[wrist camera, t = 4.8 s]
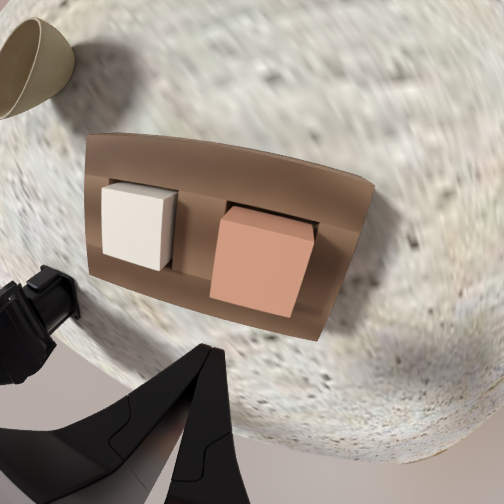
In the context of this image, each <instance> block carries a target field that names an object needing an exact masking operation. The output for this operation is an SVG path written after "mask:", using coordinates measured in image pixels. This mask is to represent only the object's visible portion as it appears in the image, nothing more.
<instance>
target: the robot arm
mask: <svg viewBox="0 0 504 504" xmlns="http://www.w3.org/2000/svg"><path fill="white" fill-rule="evenodd" d="M40 269H41V271H40V272H39V273H37V274H36V275H35V276H33V277H32V278H30V279H29V280H28V281H27V282H26V283H27V285H25V286H24V287H23V288H22V285H21V283H19V284H18V285H17V284H16V283H15V282H14V281H11V282H10V283H8V284H7V285H5V286H4V287H3V288H2V289H0V385H6V384H13V383H14V384H21V383H23V382H24V381H25V379H26V378H27V377H28V376H31V375H33V374H35V373H36V372H37V371H39V370H40V369H41V367H42V366H43V365H44V363H45V362H46V360H47V359H48V357H49V356H50V354H51V352H52V351H53V350H54V348H55V347H56V345H57V344H56V343H55V342H54V341H53V340H52V338H51V337H50V335H51V334H52V333H53V332H54V331H55V330H56V329H57V328H58V327H59V326H60V325H61V324H62V323H64V322H65V321H66V320H67V319H68V318H69V317H72V318H74V319H76V320H79V319H80V318H81V317H80V313H79V308H78V303H77V298H76V293H75V288H74V282H73V280H72V278H71V277H69V276H67V275H64V274H62V273H60V272H58V271H56V270H54V269H51V268H49V267H47V266H45V265H42V266H41V267H40ZM9 298H10V299H11V300H9ZM183 429H184V432H183V436H182V440H181V444H180V447H179V451H178V455H177V459H176V463H175V467H174V471H173V475H172V479H171V481H172V482H171V483H170V487H169V490H168V493H167V497H166V499H165V502H164V504H250V502H249V498H248V495H247V492H246V489H245V486H244V483H243V480H242V477H241V474H240V470H239V466H238V462H237V459H236V453H235V447H234V440H233V433H232V424H231V414H230V405H229V394H228V384H227V373H226V361H225V351H224V350H223V349H220V348H216V347H213V348H212V347H211V346H209V345H206V344H202V343H201V344H199V345H198V346H196V347H195V348H193V349H192V350H191V351H189V352H188V353H187V354H185V355H184V356H182V357H181V358H180V359H178V360H177V361H175V362H174V363H173V364H171V365H170V366H168V367H167V368H166V369H164V370H163V371H161V372H160V373H158V374H157V375H156V376H154V377H153V378H151V379H150V380H148V381H147V382H145V383H144V384H142V385H141V386H139V387H138V388H137V389H135V390H134V391H132V392H131V393H129V394H128V395H126V396H125V397H123V398H122V399H120V400H118V401H117V402H115V403H114V404H112V405H110V406H109V407H107V408H105V409H103V410H101V411H99V412H97V413H95V414H93V415H91V416H89V417H87V418H85V419H82V420H80V421H78V422H75V423H73V424H71V425H68V426H66V427H64V428H61V429H57V430H52V431H32V430H17V429H6V428H0V504H144V503H145V501H146V499H147V497H148V495H149V493H150V491H151V490H152V488H153V486H154V484H155V482H156V480H157V479H158V477H159V475H160V473H161V471H162V469H163V467H164V466H165V464H166V462H167V460H168V458H169V456H170V454H171V452H172V450H173V448H174V447H175V445H176V443H177V441H178V439H179V437H180V435H181V433H182V431H183Z"/></svg>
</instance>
